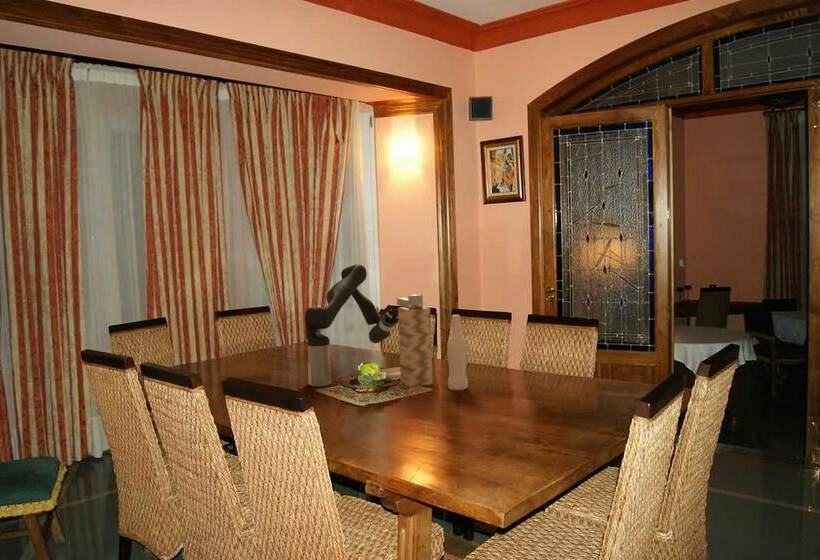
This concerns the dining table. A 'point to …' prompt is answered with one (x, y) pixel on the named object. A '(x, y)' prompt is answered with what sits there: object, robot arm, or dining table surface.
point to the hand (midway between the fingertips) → (399, 305)
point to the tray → (393, 372)
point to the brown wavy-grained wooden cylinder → (415, 346)
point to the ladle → (411, 302)
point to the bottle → (457, 357)
